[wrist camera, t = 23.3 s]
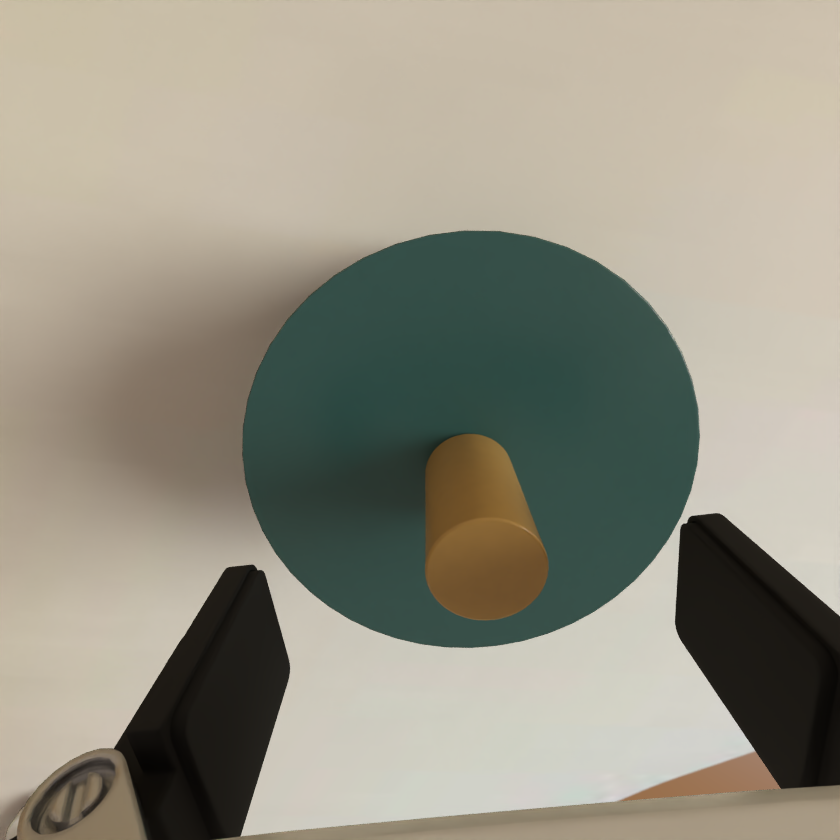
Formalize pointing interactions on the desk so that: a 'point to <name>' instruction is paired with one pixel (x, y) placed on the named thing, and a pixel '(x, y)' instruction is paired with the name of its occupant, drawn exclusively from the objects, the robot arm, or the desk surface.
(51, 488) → the desk surface
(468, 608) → the lid
